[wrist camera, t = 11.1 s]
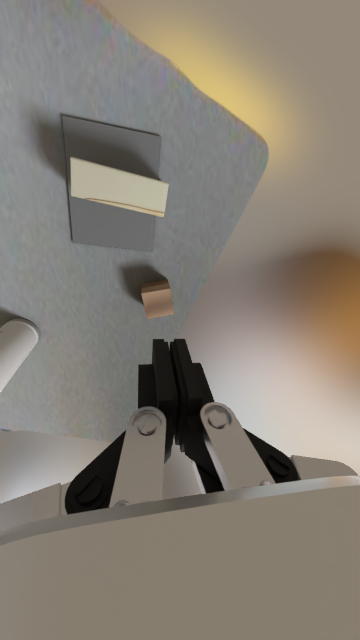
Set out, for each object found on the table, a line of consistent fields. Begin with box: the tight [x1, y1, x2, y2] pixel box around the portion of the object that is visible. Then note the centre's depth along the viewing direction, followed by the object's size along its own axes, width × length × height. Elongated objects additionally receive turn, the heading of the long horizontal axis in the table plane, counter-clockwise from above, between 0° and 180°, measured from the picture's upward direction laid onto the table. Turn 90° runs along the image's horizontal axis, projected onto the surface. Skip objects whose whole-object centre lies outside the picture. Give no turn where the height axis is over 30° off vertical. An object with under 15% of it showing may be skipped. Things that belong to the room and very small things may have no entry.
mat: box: [62, 116, 161, 252], centre depth 34 cm, size 16×13×1 cm
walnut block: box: [141, 279, 174, 319], centre depth 41 cm, size 5×5×5 cm
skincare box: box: [70, 157, 169, 217], centre depth 31 cm, size 6×4×12 cm
